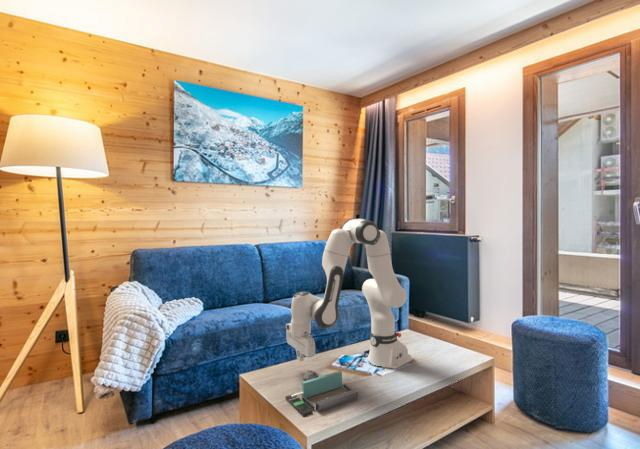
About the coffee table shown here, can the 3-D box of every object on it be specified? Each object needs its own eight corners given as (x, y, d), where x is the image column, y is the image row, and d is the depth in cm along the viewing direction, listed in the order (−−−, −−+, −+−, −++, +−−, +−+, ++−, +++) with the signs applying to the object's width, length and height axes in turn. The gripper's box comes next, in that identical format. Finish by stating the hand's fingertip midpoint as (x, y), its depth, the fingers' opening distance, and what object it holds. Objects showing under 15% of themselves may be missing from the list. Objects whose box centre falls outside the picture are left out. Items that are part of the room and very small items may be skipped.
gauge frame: (338, 382, 157) (338, 375, 156) (360, 398, 144) (360, 390, 144) (285, 399, 143) (285, 391, 143) (304, 418, 131) (304, 409, 130)
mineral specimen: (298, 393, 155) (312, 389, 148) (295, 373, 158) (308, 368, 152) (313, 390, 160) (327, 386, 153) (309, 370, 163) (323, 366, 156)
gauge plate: (339, 384, 154) (339, 370, 153) (341, 386, 153) (341, 372, 152) (290, 400, 142) (290, 385, 141) (292, 402, 140) (292, 386, 140)
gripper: (319, 334, 155) (318, 367, 155) (296, 321, 172) (295, 350, 173) (306, 337, 151) (305, 370, 152) (284, 323, 169) (283, 353, 169)
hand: (300, 359), depth 163 cm, fingers closed
